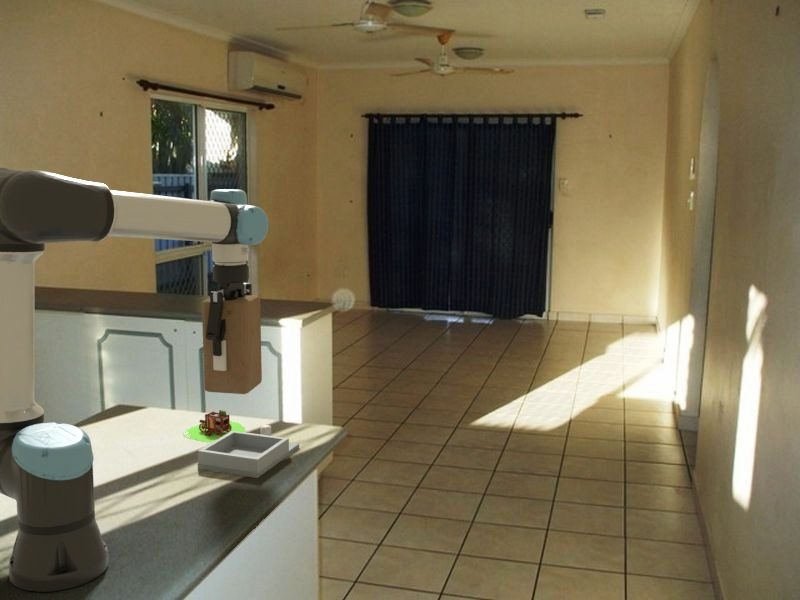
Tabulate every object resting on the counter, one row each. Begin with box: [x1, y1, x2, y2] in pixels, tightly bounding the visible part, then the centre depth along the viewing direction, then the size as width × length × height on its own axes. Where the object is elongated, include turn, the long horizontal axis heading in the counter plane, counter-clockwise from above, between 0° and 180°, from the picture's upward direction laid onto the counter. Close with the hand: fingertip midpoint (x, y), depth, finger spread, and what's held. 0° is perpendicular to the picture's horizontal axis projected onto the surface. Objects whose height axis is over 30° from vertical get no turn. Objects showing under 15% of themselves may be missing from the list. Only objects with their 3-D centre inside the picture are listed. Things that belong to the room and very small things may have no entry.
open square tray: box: [197, 424, 300, 479], centre depth 193 cm, size 20×14×5 cm
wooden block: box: [201, 294, 263, 395], centre depth 186 cm, size 10×10×20 cm
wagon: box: [182, 409, 246, 444], centre depth 210 cm, size 15×15×6 cm
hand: (233, 363), depth 187 cm, fingers closed on wooden block, 10 cm apart
